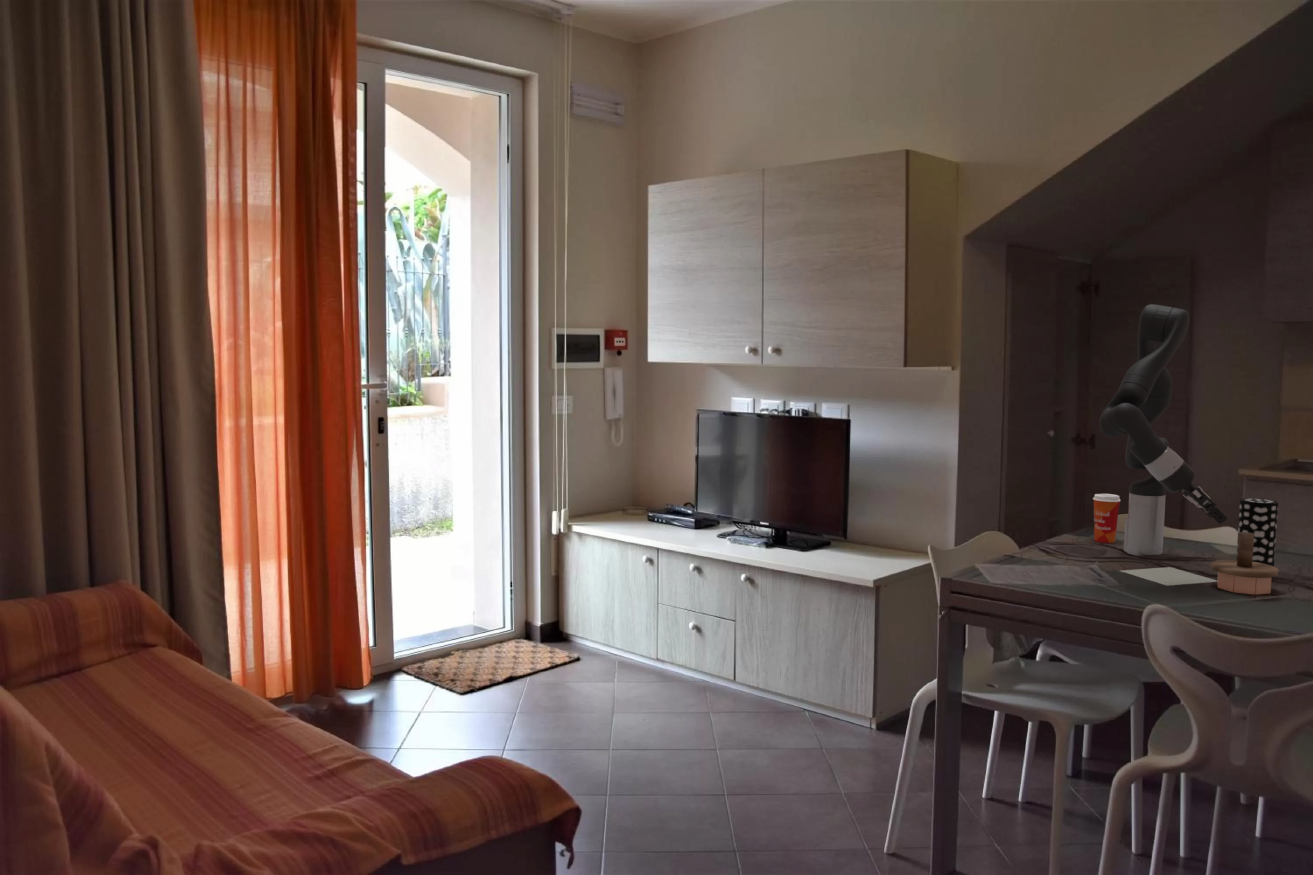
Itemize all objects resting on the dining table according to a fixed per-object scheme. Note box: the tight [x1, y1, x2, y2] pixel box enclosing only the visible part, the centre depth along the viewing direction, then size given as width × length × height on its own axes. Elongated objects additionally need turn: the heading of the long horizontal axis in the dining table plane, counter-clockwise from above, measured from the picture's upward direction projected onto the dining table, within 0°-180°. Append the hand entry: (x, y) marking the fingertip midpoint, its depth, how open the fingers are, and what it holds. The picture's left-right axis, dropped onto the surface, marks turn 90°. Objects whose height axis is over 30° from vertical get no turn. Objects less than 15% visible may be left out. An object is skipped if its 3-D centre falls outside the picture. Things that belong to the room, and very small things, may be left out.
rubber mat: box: [1120, 566, 1218, 587], centre depth 254 cm, size 16×16×1 cm
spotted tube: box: [1235, 497, 1279, 581], centre depth 254 cm, size 8×8×20 cm
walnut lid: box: [1210, 532, 1279, 578], centre depth 241 cm, size 14×14×9 cm
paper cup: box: [1092, 493, 1121, 544], centre depth 300 cm, size 8×8×14 cm
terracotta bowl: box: [1216, 572, 1273, 599], centre depth 241 cm, size 11×11×5 cm
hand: (1218, 518), depth 241 cm, fingers open, 8 cm apart
